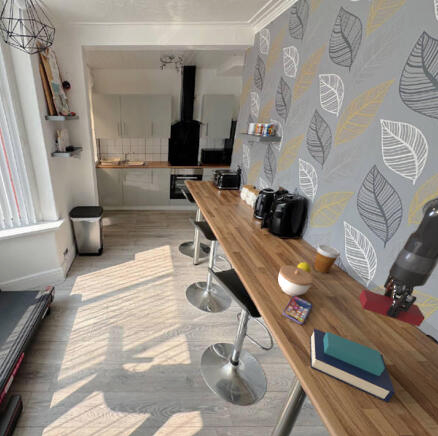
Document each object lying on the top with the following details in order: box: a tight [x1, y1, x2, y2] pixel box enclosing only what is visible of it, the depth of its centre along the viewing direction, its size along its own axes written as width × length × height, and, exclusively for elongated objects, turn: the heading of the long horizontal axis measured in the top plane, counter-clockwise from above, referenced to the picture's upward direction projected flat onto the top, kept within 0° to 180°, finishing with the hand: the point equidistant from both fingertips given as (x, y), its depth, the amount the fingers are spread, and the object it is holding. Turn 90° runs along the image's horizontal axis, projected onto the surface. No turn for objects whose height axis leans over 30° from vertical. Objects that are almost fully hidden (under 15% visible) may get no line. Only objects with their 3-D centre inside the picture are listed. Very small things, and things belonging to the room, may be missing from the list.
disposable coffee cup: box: [313, 244, 341, 274], centre depth 119 cm, size 10×10×12 cm
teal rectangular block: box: [323, 331, 385, 376], centre depth 71 cm, size 13×6×4 cm, turn 59°
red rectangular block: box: [358, 289, 426, 328], centre depth 74 cm, size 13×6×4 cm, turn 58°
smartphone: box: [282, 295, 313, 325], centre depth 95 cm, size 1×7×15 cm
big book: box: [309, 327, 396, 403], centre depth 73 cm, size 18×13×4 cm
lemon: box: [296, 261, 311, 274], centre depth 114 cm, size 6×6×8 cm
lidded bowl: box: [277, 265, 314, 297], centre depth 103 cm, size 13×13×11 cm
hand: (387, 309), depth 74 cm, fingers closed on red rectangular block, 6 cm apart
